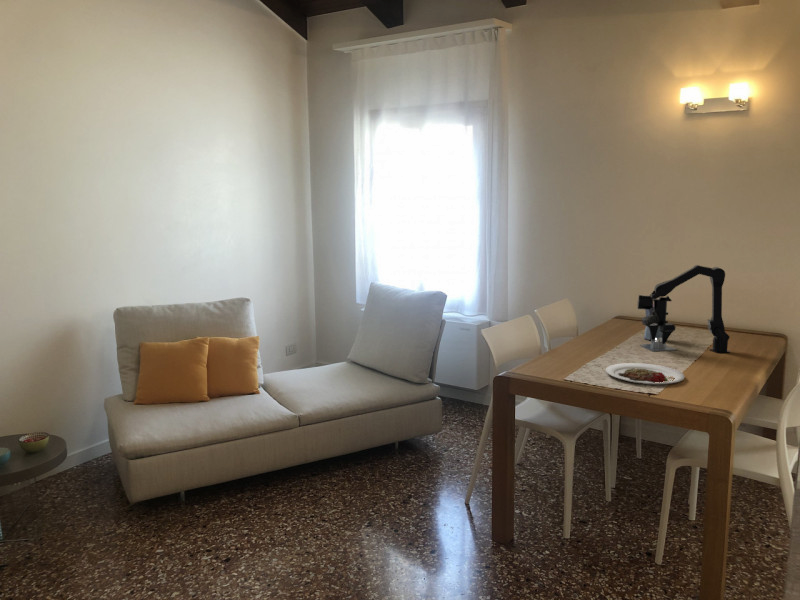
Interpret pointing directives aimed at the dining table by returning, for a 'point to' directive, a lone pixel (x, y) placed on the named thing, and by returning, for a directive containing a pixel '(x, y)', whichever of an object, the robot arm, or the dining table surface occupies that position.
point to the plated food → (644, 373)
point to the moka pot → (647, 331)
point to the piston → (658, 348)
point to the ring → (657, 344)
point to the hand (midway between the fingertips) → (658, 341)
